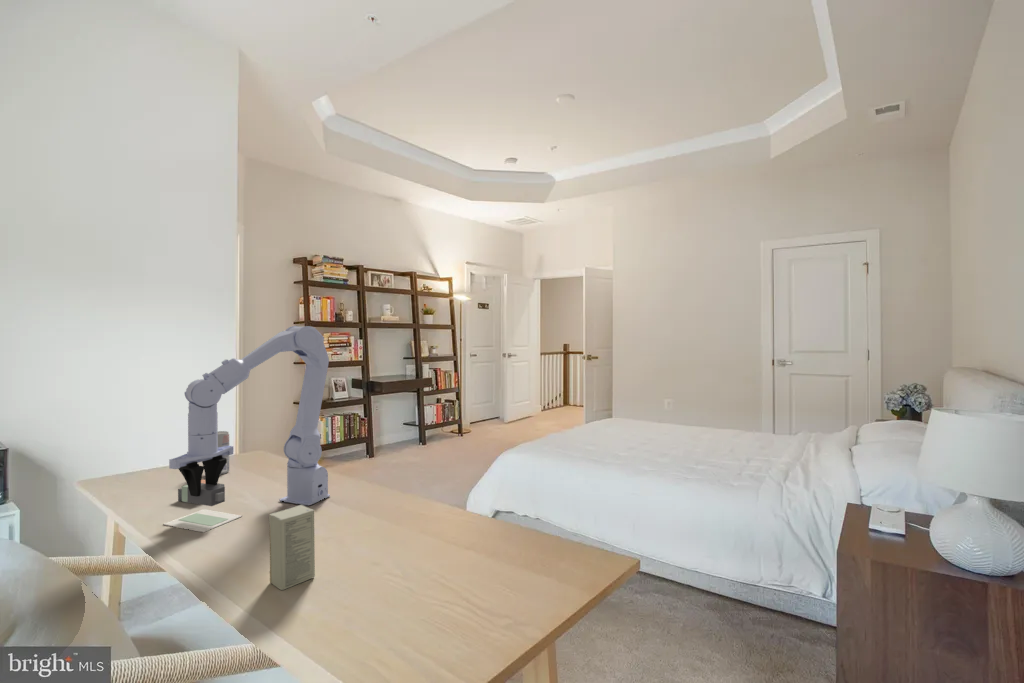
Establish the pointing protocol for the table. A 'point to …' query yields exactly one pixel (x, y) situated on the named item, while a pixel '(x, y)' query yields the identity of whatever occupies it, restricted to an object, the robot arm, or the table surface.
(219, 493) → the block
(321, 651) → the table surface
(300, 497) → the robot arm
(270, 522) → the skincare box
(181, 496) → the button housing
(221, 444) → the energy drink
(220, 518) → the paper sheet
